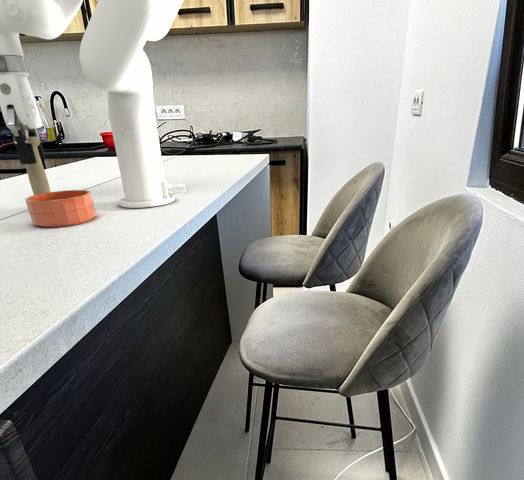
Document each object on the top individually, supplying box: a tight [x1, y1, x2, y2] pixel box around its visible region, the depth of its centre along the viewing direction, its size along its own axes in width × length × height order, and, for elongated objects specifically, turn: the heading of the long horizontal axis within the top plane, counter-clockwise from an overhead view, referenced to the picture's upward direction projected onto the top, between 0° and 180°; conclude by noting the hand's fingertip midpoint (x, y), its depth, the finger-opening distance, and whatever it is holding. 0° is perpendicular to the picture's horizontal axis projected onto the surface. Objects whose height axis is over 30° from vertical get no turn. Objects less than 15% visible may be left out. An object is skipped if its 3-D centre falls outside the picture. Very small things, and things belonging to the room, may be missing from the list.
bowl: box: [24, 189, 97, 228], centre depth 86 cm, size 12×12×5 cm
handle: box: [24, 136, 51, 196], centre depth 99 cm, size 5×6×15 cm
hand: (33, 161), depth 98 cm, fingers closed on handle, 6 cm apart
